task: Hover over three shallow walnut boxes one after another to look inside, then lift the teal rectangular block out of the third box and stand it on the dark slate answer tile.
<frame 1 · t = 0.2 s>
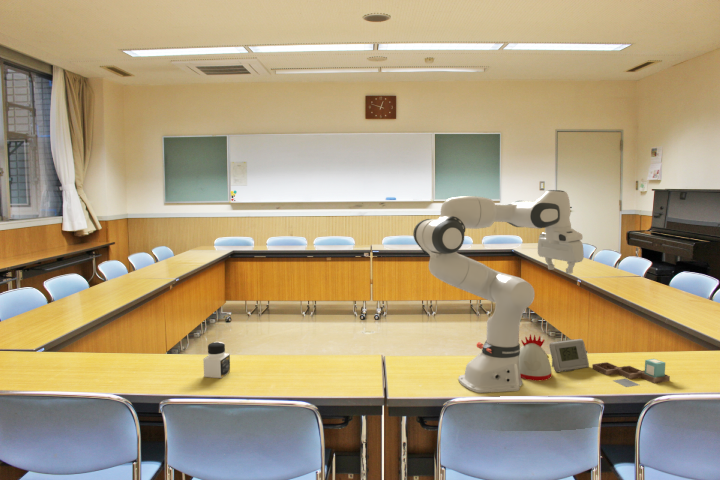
hand: (560, 271, 172), 39 cm above the table, tool pointing down, fingers open, 8 cm apart
box B: (629, 375, 173), on the table
teal rectangular block: (654, 378, 169), resting on box C
medicine bottle: (217, 374, 176), on the table
answer tile: (626, 383, 165), on the table
box A: (606, 371, 176), on the table
box C: (653, 379, 169), on the table
digital clock: (568, 369, 180), on the table
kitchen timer: (531, 374, 175), on the table
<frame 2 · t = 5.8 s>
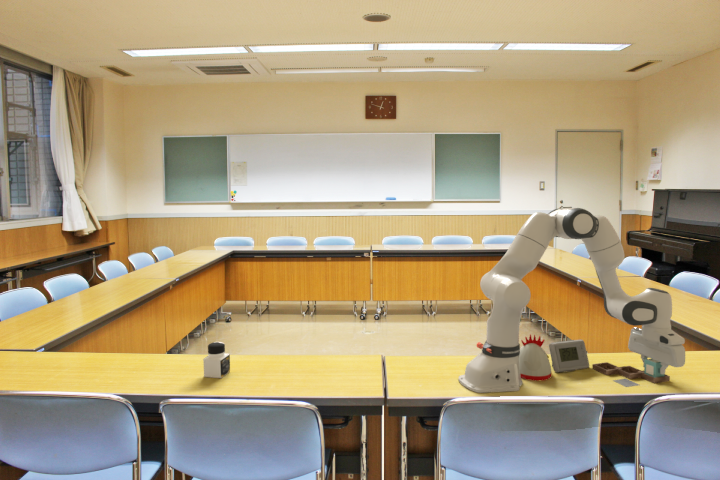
hand: (654, 370, 169), 3 cm above the table, tool pointing down, fingers closed on teal rectangular block, 4 cm apart
teal rectangular block: (654, 378, 169), resting on box C, touching box B, gripper
everything else where it was.
when the fingers open (4 cm above the table, at t = 10.6 s): teal rectangular block moves 1 cm, resting on answer tile.
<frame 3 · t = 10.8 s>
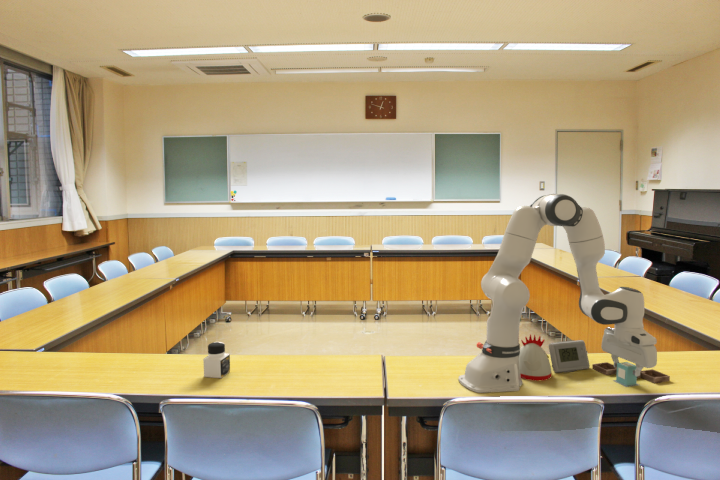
hand: (626, 371, 165), 4 cm above the table, tool pointing down, fingers open, 7 cm apart
teal rectangular block: (626, 382, 165), resting on answer tile
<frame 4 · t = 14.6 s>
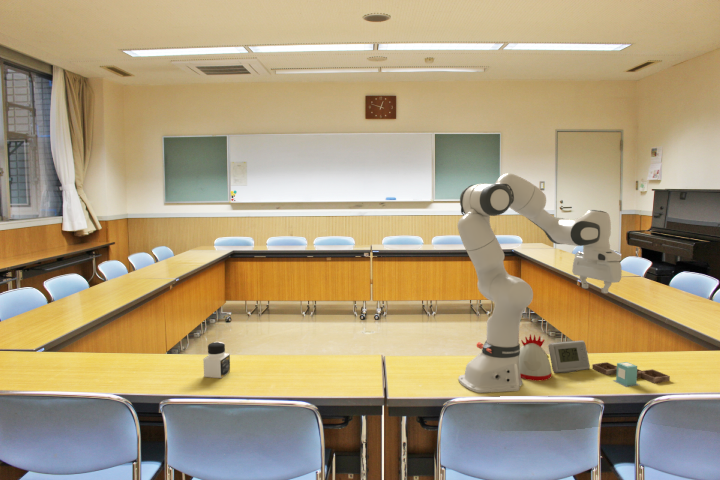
hand: (594, 290, 175), 31 cm above the table, tool pointing down, fingers open, 8 cm apart
at the end: teal rectangular block inside the target area on the answer tile (0.2 cm from its centre), point 0.4 cm above the answer tile's base; teal rectangular block tilted 0°; the gripper is holding nothing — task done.
